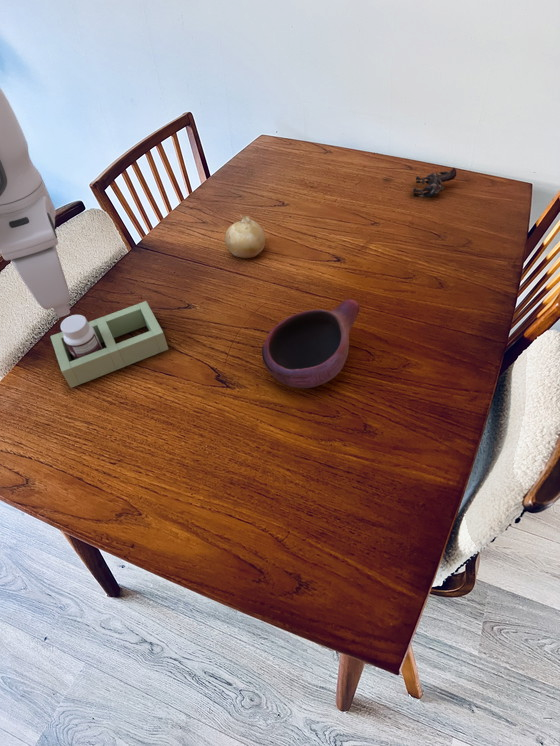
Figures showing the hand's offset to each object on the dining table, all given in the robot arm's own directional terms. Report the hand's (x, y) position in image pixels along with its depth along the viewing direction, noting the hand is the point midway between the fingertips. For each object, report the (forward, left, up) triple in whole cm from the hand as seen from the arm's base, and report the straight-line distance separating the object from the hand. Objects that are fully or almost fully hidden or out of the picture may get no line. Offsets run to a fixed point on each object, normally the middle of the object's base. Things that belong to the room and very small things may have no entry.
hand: (56, 294), depth 75 cm
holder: (+4, 0, -14) cm, 15 cm away
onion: (+35, +13, -15) cm, 40 cm away
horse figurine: (+77, +13, -15) cm, 80 cm away
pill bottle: (0, 0, -14) cm, 14 cm away
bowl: (+31, -19, -15) cm, 39 cm away
